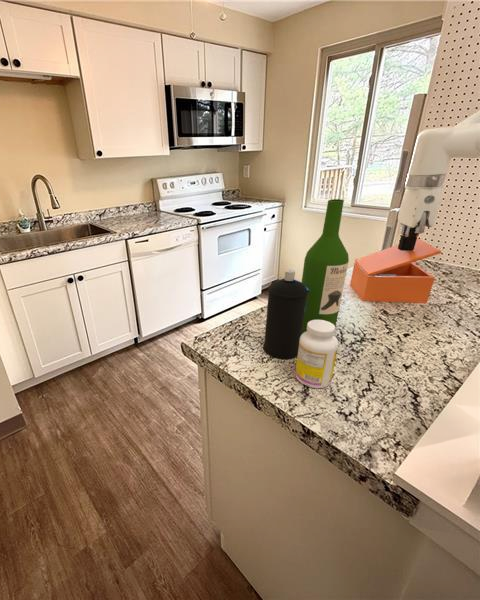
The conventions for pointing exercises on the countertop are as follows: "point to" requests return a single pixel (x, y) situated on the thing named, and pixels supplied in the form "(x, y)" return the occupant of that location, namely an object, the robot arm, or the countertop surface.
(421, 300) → the orange hinged box
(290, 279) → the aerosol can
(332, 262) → the wine bottle
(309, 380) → the supplement bottle
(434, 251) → the orange box lid
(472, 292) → the countertop surface
